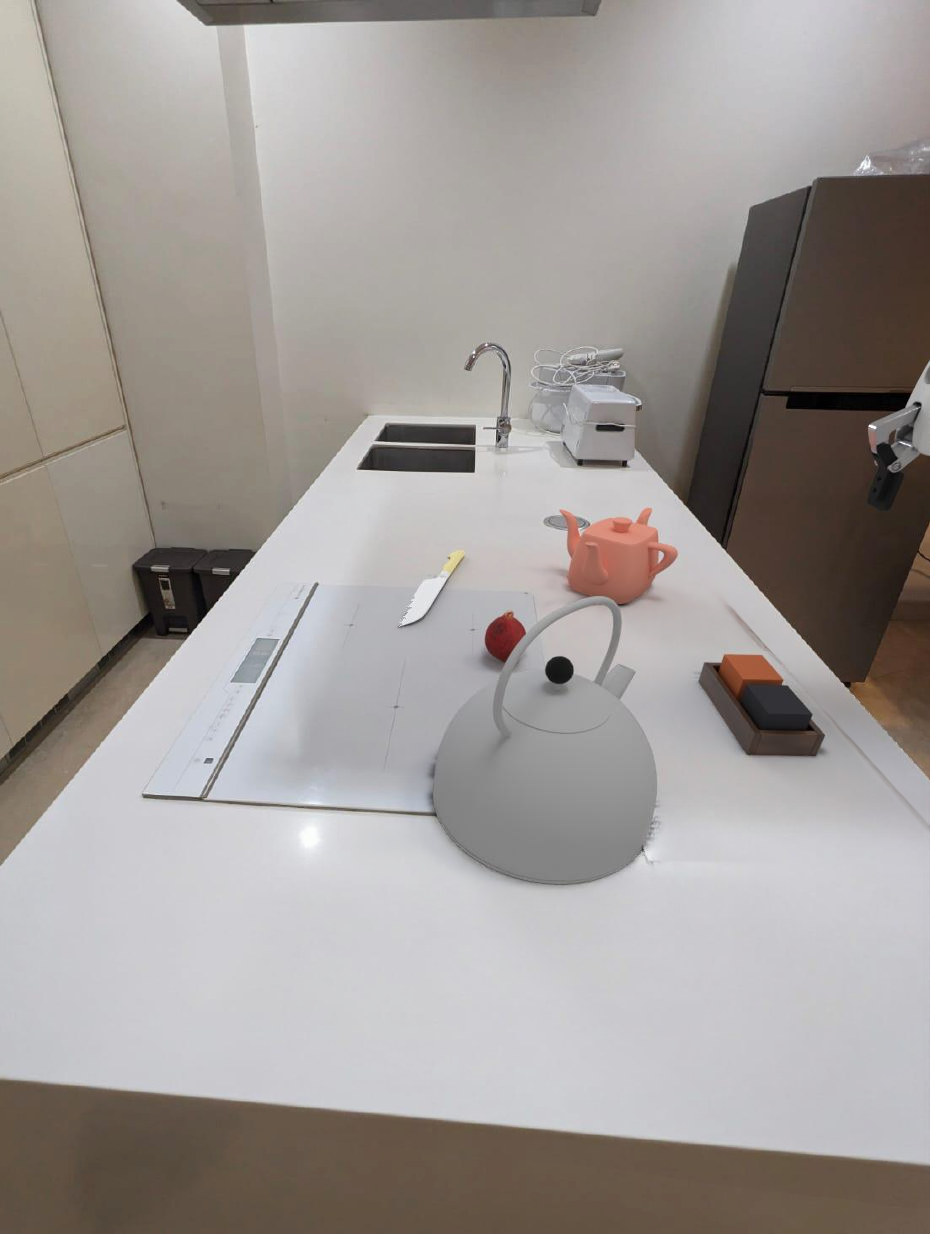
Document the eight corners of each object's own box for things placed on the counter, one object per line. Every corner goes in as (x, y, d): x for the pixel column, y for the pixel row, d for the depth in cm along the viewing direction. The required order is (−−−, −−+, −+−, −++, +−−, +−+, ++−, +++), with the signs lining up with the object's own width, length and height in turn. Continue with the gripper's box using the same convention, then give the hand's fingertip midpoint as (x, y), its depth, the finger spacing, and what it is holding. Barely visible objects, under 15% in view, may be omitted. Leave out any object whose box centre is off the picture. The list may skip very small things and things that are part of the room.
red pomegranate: (503, 676, 87) (508, 625, 83) (474, 659, 91) (478, 609, 86) (532, 663, 90) (538, 612, 86) (503, 647, 94) (507, 598, 89)
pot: (549, 567, 120) (557, 502, 113) (638, 565, 121) (652, 501, 114) (575, 611, 104) (586, 538, 98) (677, 609, 105) (695, 537, 99)
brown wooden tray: (755, 685, 86) (763, 663, 84) (814, 759, 73) (825, 735, 71) (697, 684, 86) (704, 661, 84) (745, 758, 73) (754, 733, 71)
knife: (390, 623, 98) (419, 622, 97) (442, 549, 125) (466, 547, 123) (391, 631, 99) (420, 630, 97) (443, 555, 126) (467, 554, 124)
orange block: (750, 686, 85) (762, 654, 82) (771, 712, 80) (784, 679, 77) (713, 686, 85) (723, 653, 82) (731, 712, 80) (743, 678, 77)
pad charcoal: (774, 718, 79) (787, 685, 76) (798, 749, 74) (813, 714, 71) (734, 717, 79) (746, 684, 76) (755, 748, 73) (768, 713, 71)
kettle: (539, 702, 82) (563, 535, 70) (704, 795, 67) (769, 605, 55) (389, 788, 68) (386, 596, 55) (557, 929, 53) (602, 712, 41)
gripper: (937, 327, 56) (862, 517, 65) (1133, 331, 56) (1030, 521, 65) (885, 322, 62) (823, 496, 71) (1061, 325, 62) (976, 499, 71)
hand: (922, 507), depth 68 cm, fingers open, 9 cm apart
